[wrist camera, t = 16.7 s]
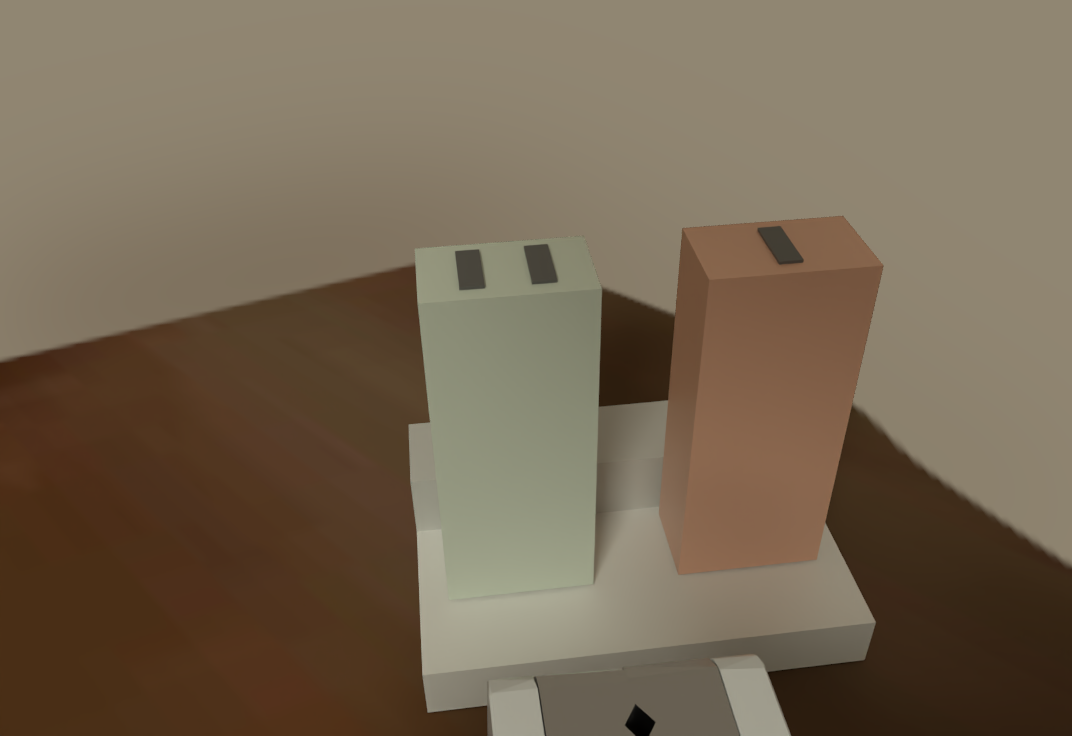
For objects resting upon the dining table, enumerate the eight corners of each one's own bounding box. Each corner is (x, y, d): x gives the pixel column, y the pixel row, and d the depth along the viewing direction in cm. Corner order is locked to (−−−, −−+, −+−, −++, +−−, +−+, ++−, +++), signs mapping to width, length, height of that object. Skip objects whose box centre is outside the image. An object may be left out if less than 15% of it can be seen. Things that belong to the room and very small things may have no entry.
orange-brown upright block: (678, 574, 34) (709, 276, 27) (657, 510, 36) (680, 222, 29) (816, 559, 34) (884, 262, 27) (786, 496, 37) (841, 209, 30)
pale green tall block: (448, 599, 33) (417, 300, 26) (444, 532, 36) (414, 242, 28) (593, 584, 34) (602, 285, 26) (578, 518, 36) (582, 229, 29)
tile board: (427, 712, 32) (415, 624, 29) (418, 500, 40) (408, 416, 37) (864, 660, 33) (890, 571, 31) (771, 465, 41) (786, 381, 39)
